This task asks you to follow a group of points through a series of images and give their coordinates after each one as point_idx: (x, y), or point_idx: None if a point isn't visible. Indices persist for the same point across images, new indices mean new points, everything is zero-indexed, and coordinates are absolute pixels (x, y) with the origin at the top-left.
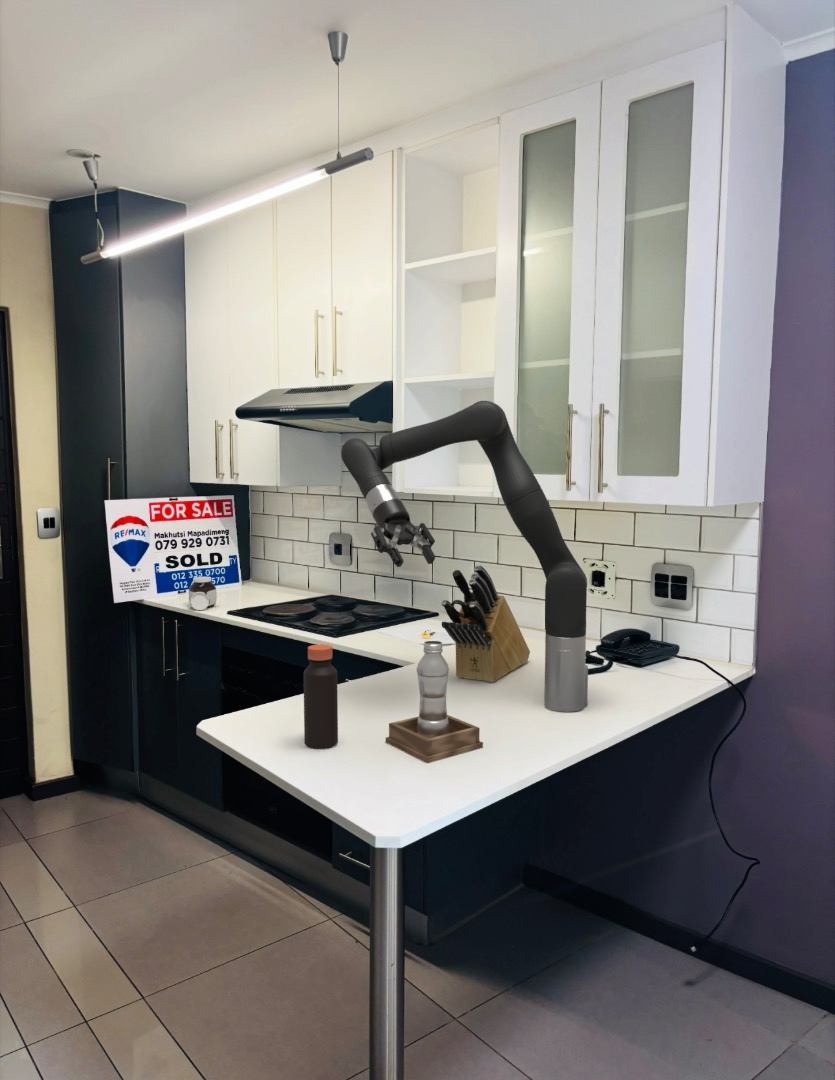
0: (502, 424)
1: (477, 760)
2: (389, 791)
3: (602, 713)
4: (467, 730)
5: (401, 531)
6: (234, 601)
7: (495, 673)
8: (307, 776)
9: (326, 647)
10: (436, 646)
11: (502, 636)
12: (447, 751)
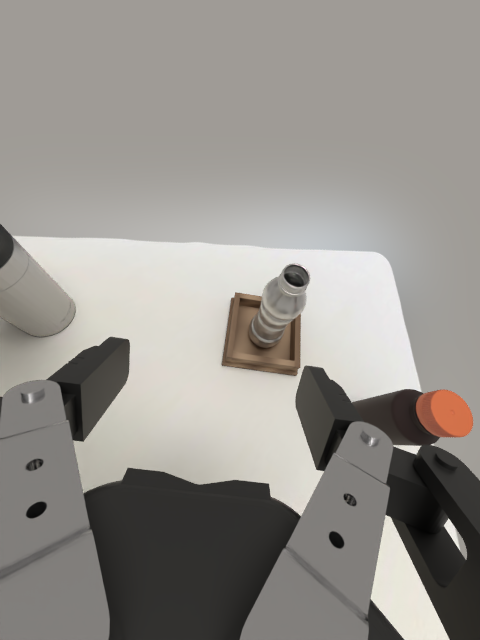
0: None
1: (258, 285)
2: (353, 294)
3: (50, 272)
4: (250, 295)
5: (213, 618)
6: None
7: None
8: (397, 360)
9: (442, 401)
10: (299, 266)
11: None
12: None
